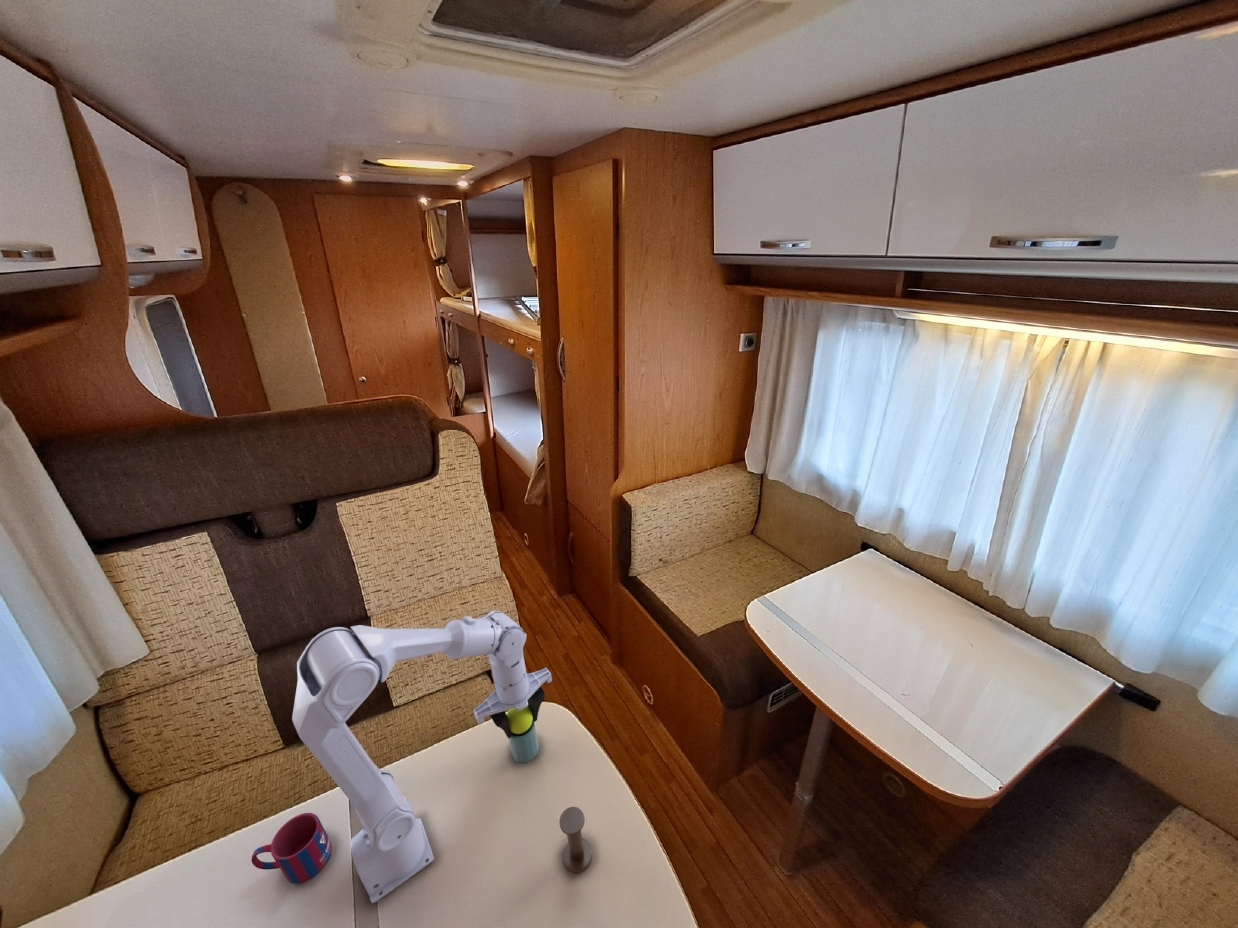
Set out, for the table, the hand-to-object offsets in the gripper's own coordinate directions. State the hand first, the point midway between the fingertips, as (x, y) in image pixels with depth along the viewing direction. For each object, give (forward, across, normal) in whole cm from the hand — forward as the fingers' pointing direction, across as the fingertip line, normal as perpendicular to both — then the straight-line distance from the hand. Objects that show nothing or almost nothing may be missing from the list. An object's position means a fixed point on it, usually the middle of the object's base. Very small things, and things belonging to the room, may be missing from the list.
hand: (520, 725), depth 91 cm
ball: (+1, 0, 0) cm, 1 cm away
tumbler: (+7, 0, 0) cm, 7 cm away
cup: (+7, -38, +6) cm, 39 cm away
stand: (+7, -2, -22) cm, 23 cm away
